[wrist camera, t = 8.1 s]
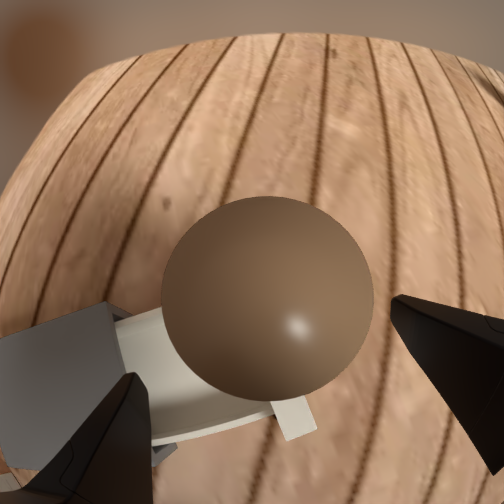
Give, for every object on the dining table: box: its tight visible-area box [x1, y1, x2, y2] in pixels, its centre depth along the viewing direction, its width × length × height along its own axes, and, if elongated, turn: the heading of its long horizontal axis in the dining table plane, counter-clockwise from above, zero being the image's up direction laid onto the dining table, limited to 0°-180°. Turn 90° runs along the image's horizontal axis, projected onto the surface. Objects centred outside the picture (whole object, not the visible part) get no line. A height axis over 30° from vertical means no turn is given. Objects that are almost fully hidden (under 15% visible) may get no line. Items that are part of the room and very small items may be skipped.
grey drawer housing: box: [0, 301, 177, 471], centre depth 15 cm, size 14×10×4 cm
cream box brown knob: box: [114, 196, 374, 447], centre depth 11 cm, size 16×10×14 cm, turn 110°
